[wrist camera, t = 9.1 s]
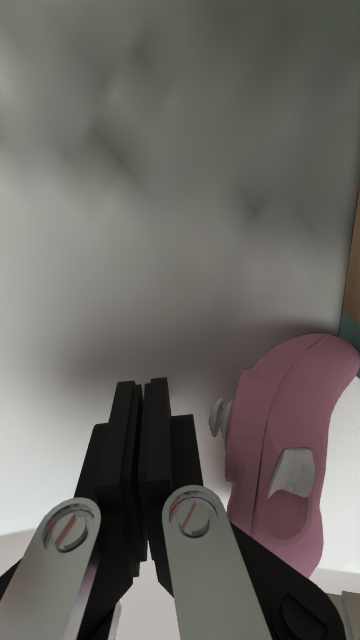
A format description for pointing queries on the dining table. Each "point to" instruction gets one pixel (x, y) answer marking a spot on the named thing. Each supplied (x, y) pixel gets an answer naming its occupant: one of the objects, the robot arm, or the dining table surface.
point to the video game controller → (284, 443)
